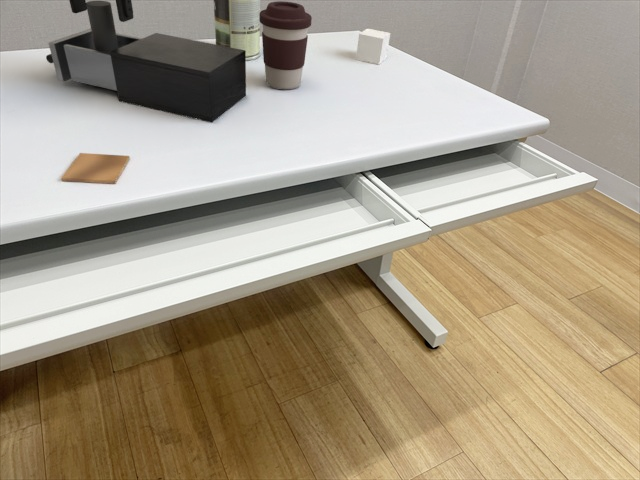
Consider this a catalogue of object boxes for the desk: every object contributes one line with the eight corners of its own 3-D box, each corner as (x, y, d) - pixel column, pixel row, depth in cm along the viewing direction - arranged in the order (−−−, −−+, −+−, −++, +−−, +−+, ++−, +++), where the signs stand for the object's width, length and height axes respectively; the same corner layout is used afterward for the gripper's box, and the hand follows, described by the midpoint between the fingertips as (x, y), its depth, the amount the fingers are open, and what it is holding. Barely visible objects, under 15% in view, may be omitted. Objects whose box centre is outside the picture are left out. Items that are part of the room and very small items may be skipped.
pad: (61, 181, 63) (60, 177, 63) (80, 155, 69) (80, 152, 69) (115, 184, 64) (114, 180, 64) (130, 158, 69) (129, 155, 69)
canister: (96, 74, 88) (82, 4, 81) (103, 67, 91) (90, -1, 84) (119, 76, 88) (106, 6, 81) (125, 69, 92) (113, 1, 84)
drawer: (38, 76, 88) (28, 38, 84) (84, 58, 97) (77, 22, 93) (140, 99, 84) (134, 60, 80) (178, 78, 93) (174, 42, 89)
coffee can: (208, 57, 107) (204, -12, 98) (225, 44, 115) (222, -21, 106) (252, 64, 106) (252, -6, 97) (265, 51, 114) (266, -15, 105)
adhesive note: (379, 64, 113) (383, 38, 109) (355, 59, 115) (359, 33, 111) (386, 58, 118) (390, 32, 114) (363, 53, 119) (367, 28, 115)
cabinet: (118, 100, 85) (109, 51, 79) (161, 77, 95) (156, 32, 90) (212, 122, 81) (209, 72, 76) (246, 95, 91) (245, 50, 86)
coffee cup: (254, 75, 100) (254, -2, 91) (299, 74, 103) (303, -1, 94) (265, 94, 93) (266, 11, 84) (313, 92, 96) (319, 12, 87)
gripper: (14, -108, 72) (46, 13, 83) (111, -96, 69) (132, 28, 79) (50, -109, 78) (76, 4, 88) (142, -98, 74) (157, 18, 85)
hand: (103, 15), depth 84 cm, fingers open, 9 cm apart
